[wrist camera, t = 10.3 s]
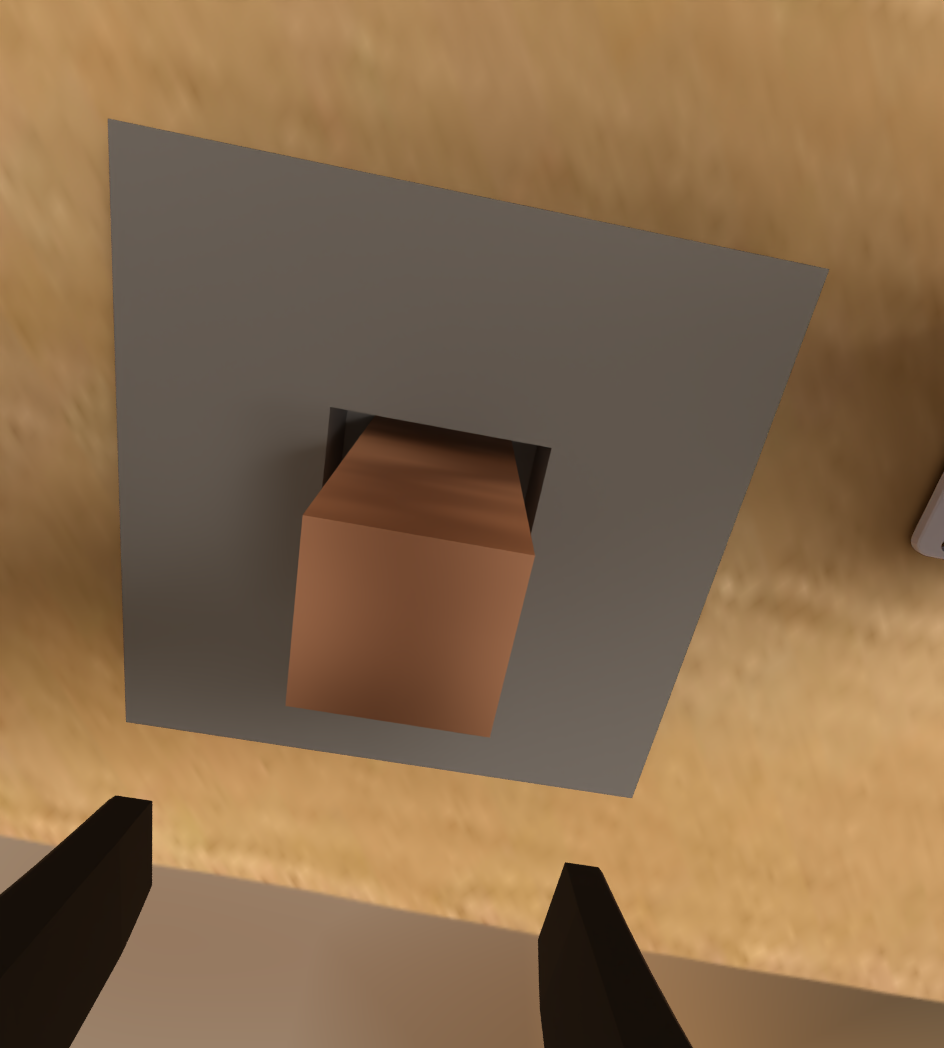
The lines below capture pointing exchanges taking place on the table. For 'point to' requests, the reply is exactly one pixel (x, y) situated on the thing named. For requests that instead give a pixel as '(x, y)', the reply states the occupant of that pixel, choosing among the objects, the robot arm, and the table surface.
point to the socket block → (432, 399)
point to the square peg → (411, 580)
